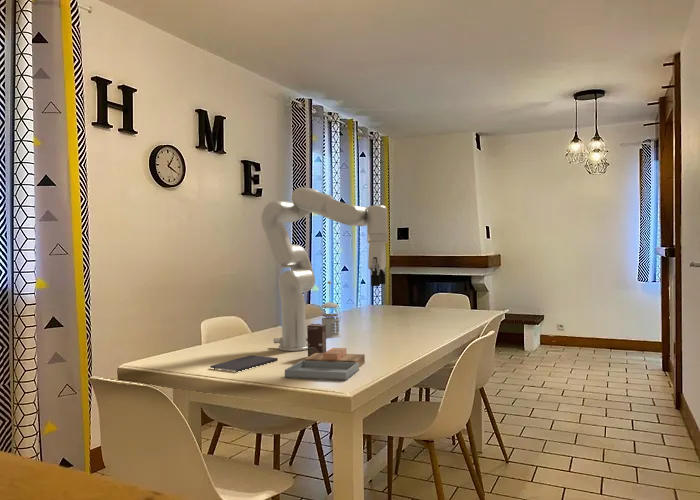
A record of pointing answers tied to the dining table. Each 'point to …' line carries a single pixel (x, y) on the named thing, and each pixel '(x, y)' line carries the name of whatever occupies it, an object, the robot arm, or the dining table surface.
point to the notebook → (244, 363)
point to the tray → (322, 370)
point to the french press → (331, 319)
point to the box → (316, 338)
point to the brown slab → (346, 358)
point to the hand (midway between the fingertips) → (378, 285)
